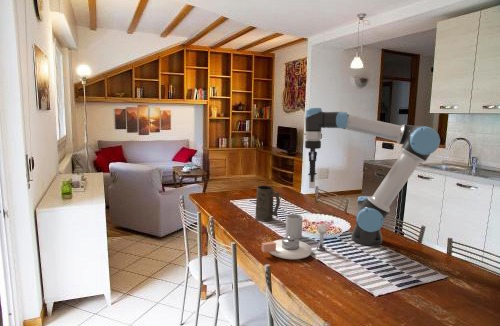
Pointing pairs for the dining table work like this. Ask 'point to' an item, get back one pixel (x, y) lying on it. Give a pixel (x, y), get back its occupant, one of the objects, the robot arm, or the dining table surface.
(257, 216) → the beer stein
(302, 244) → the turntable
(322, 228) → the dial post
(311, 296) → the dining table surface
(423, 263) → the dining table surface
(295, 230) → the mug
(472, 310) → the dining table surface
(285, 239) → the cover
